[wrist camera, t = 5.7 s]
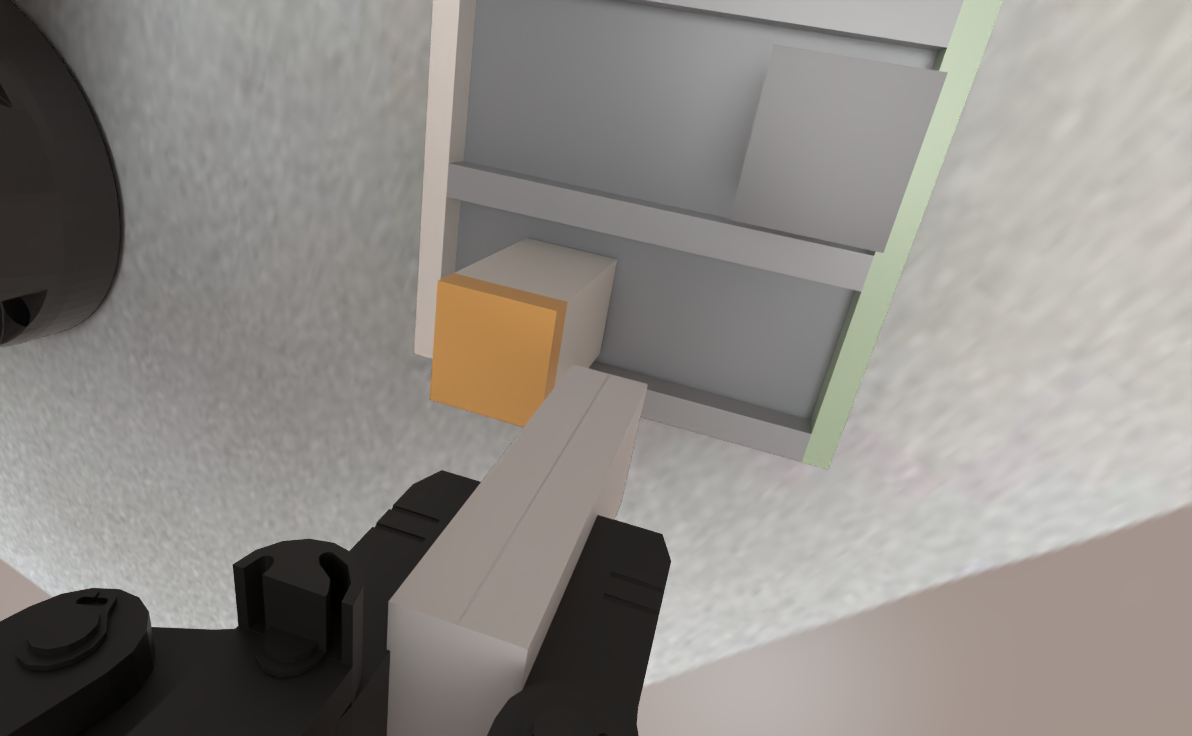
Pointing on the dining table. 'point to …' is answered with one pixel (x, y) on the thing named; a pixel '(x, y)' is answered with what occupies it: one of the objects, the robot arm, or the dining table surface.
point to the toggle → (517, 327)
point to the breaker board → (677, 190)
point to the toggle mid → (834, 145)
